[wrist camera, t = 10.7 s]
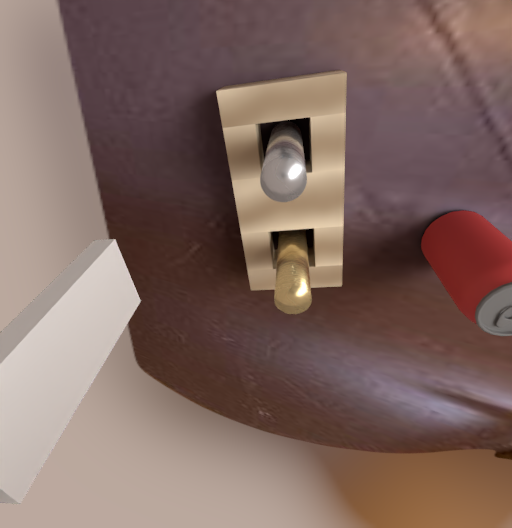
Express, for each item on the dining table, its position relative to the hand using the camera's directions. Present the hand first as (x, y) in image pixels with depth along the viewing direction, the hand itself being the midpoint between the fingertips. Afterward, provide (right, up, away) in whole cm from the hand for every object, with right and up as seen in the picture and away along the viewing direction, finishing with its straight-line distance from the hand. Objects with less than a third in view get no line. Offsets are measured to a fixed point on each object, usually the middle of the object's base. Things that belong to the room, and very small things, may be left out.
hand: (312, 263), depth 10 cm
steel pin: (+1, +12, +20) cm, 23 cm away
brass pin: (+2, +4, +25) cm, 26 cm away
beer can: (+19, +3, +24) cm, 31 cm away
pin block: (+2, +8, +23) cm, 24 cm away
